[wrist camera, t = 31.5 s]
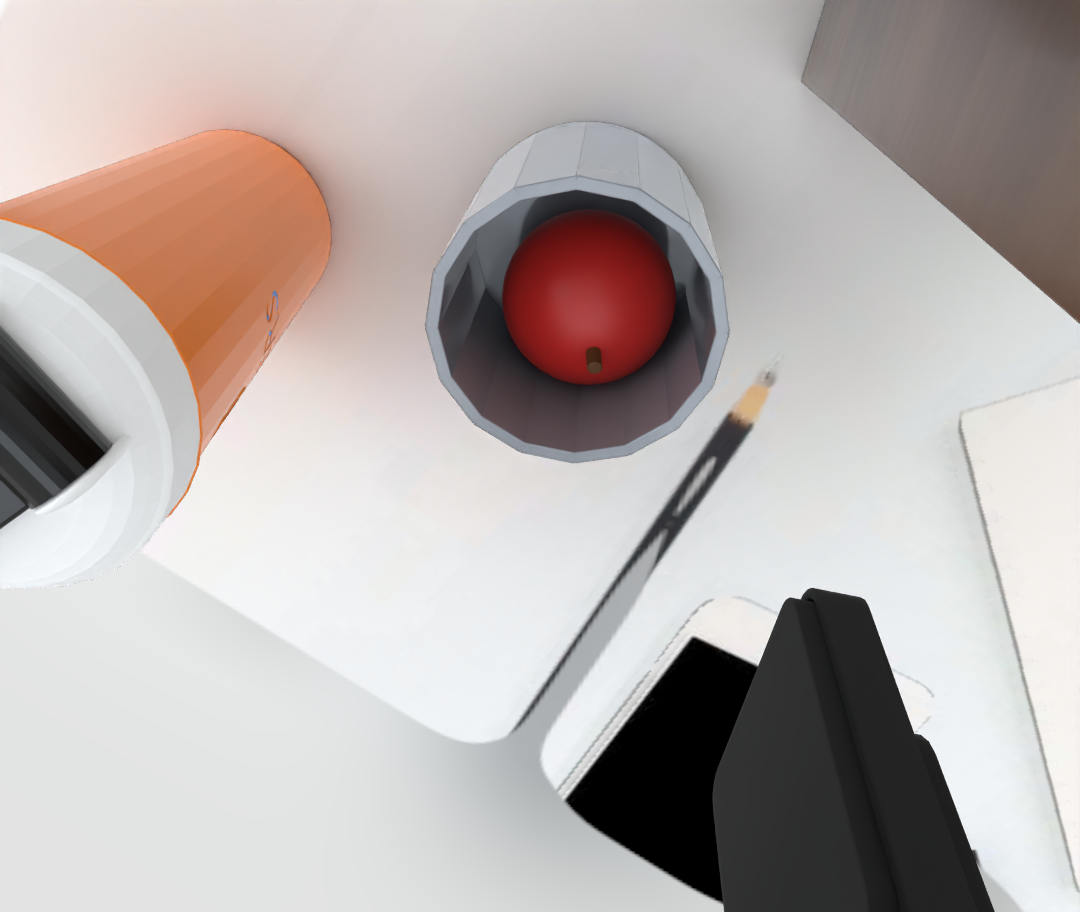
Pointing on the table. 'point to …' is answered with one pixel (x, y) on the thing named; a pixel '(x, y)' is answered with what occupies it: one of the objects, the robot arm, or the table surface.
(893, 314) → the table surface
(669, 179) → the steel cup
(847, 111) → the crate
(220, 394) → the shaker bottle
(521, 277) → the apple
